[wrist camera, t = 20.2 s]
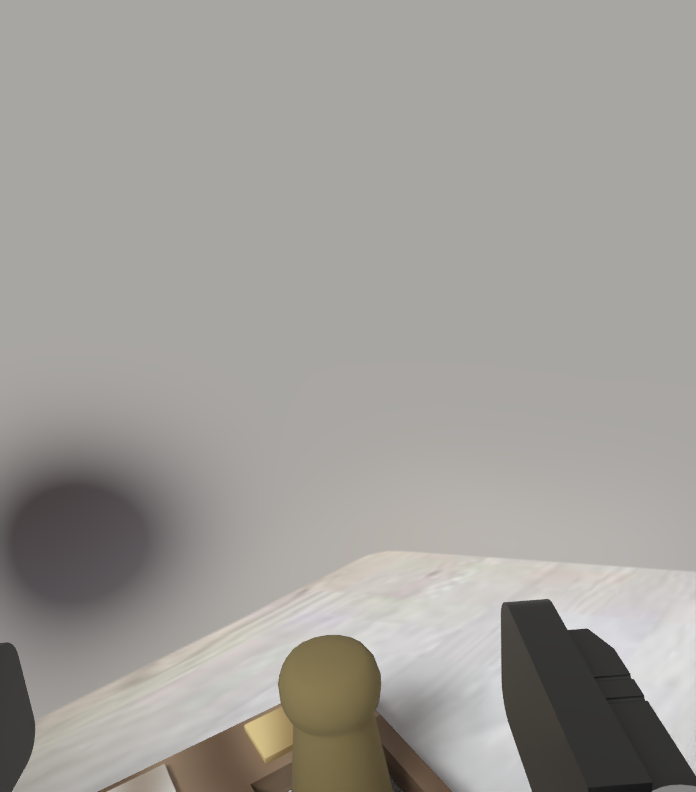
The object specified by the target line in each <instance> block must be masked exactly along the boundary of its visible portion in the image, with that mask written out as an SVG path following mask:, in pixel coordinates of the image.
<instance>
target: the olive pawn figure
mask: <svg viewBox="0 0 696 792" xmlns="http://www.w3.org/2000/svg"><path fill="white" fill-rule="evenodd" d="M278 687H279V694H280V700H281V706H282V708H283V710H284V712H285V714H286V716H287V717H288V719H289V720H290V722H291V723H292V724H293V750H292V792H394V791H393V787H392V783H391V779H390V775H389V771H388V767H387V763H386V759H385V755H384V751H383V747H382V743H381V739H380V735H379V731H378V727H377V723H376V719H375V715H374V711H375V709H376V708H377V706H378V703H379V698H380V691H381V674H380V671H379V669H378V666H377V663H376V661H375V658H374V656H373V654H372V653H371V652H370V651H369V650H368V649H367V648H366V647H365V646H364V645H363V644H362V643H361V642H359V641H357V640H355V639H353V638H351V637H346V636H341V635H325V636H320V637H315V638H312V639H310V640H308V641H305V642H303V643H301V644H300V645H299V646H297V647H296V648H294V649H293V650H292V652H291V653H290V654H289V655H288V657H287V658H286V660H285V662H284V663H283V665H282V669H281V672H280V675H279V682H278Z"/></svg>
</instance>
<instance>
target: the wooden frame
mask: <svg viewBox="0 0 696 792" xmlns="http://www.w3.org/2000/svg"><path fill="white" fill-rule="evenodd" d="M374 715H375V719H376V723H377V727H378V731H379V735H380V739H381V743H382V747H383V751H384V755H385V759H386V763H387V767H388V771H389V775H390V776H391V777H392V778H393V779H394V781H395V782H396V783H397V784H398V785H399V787H400V788H401V789H402V790H403V791H404V792H452V791H451V790H450V789H449V788H448V787H447V786H446V785H445V784H444V783H443V782H442V780H441V779H440V778H439V777H438V776H437V775H436V774H435V773H434V772H433V771H432V770H431V769H430V768H429V767H428V765H427V764H426V763H425V762H424V761H423V760H422V759H421V758H420V757H419V756H418V755H417V754H416V753H415V752H414V750H413V749H412V748H411V747H410V746H409V745H408V744H407V743H406V742H405V741H404V740H403V739H402V738H401V737H400V735H399V734H398V733H397V732H396V731H395V730H394V729H393V728H392V727H391V726H390V725H389V724H388V723H387V722H386V720H385V719H384V718H383V717H382V716H381V715H380V714H379V713H378V712H377V711H376V710H375V711H374ZM292 750H293V724H292V723H291V722H290V720H289V719H288V717H287V716H286V714H285V712H284V710H283V708H282V706H281V704H279V705H277V706H275V707H273V708H270V709H268V710H266V711H264V712H262V713H260V714H258V715H256V716H254V717H252V718H250V719H248V720H246V721H243V722H241V723H239V724H237V725H235V726H233V727H231V728H229V729H227V730H225V731H223V732H221V733H219V734H217V735H214V736H212V737H210V738H208V739H206V740H204V741H202V742H200V743H198V744H196V745H194V746H192V747H190V748H187V749H185V750H183V751H181V752H179V753H177V754H175V755H173V756H171V757H169V758H167V759H165V760H163V761H161V762H158V763H156V764H154V765H152V766H150V767H148V768H146V769H144V770H142V771H140V772H138V773H136V774H134V775H131V776H129V777H127V778H125V779H123V780H121V781H119V782H117V783H115V784H113V785H111V786H109V787H107V788H104V789H102V790H100V791H98V792H287V791H289V790H290V789H292Z"/></svg>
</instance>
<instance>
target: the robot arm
mask: <svg viewBox="0 0 696 792" xmlns="http://www.w3.org/2000/svg"><path fill="white" fill-rule="evenodd" d="M501 664H502V691H503V699H504V705H505V710H506V715H507V719H508V722H509V725H510V728H511V731H512V734H513V737H514V740H515V743H516V746H517V749H518V752H519V755H520V757H521V760H522V763H523V766H524V769H525V772H526V775H527V778H528V781H529V784H530V787H531V790H532V792H696V776H695V774H694V772H693V771H692V769H691V768H690V766H689V765H688V763H687V762H686V760H685V758H684V757H683V755H682V754H681V752H680V751H679V749H678V748H677V746H676V744H675V743H674V741H673V740H672V738H671V737H670V735H669V734H668V732H667V730H666V729H665V727H664V726H663V724H662V723H661V721H660V720H659V718H658V716H657V715H656V713H655V712H654V710H653V709H652V707H651V706H650V704H649V702H648V701H645V699H644V695H643V693H642V691H641V690H640V688H639V687H638V685H637V684H636V682H635V681H634V679H631V676H630V673H629V671H628V670H627V668H626V667H625V665H624V663H623V662H622V660H621V659H620V657H619V656H618V654H617V653H616V651H615V649H614V648H612V647H611V646H610V645H608V644H607V643H606V642H604V641H603V640H602V639H600V638H599V637H598V636H597V635H595V634H594V633H593V632H591V631H590V630H589V629H577V630H567V628H566V627H565V625H564V623H563V621H562V620H561V618H560V616H559V614H558V612H557V611H556V609H555V607H554V605H553V604H552V602H551V601H550V600H549V599H543V600H530V601H517V602H504V603H503V604H502V608H501ZM34 738H35V721H34V716H33V712H32V708H31V704H30V700H29V696H28V692H27V688H26V684H25V680H24V676H23V672H22V668H21V665H20V661H19V656H18V653H17V651H16V649H15V647H14V646H13V645H12V644H10V643H0V792H12V790H13V788H14V787H15V785H16V783H17V781H18V779H19V778H20V776H21V774H22V772H23V770H24V769H25V767H26V765H27V763H28V761H29V758H30V756H31V753H32V749H33V745H34Z"/></svg>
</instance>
